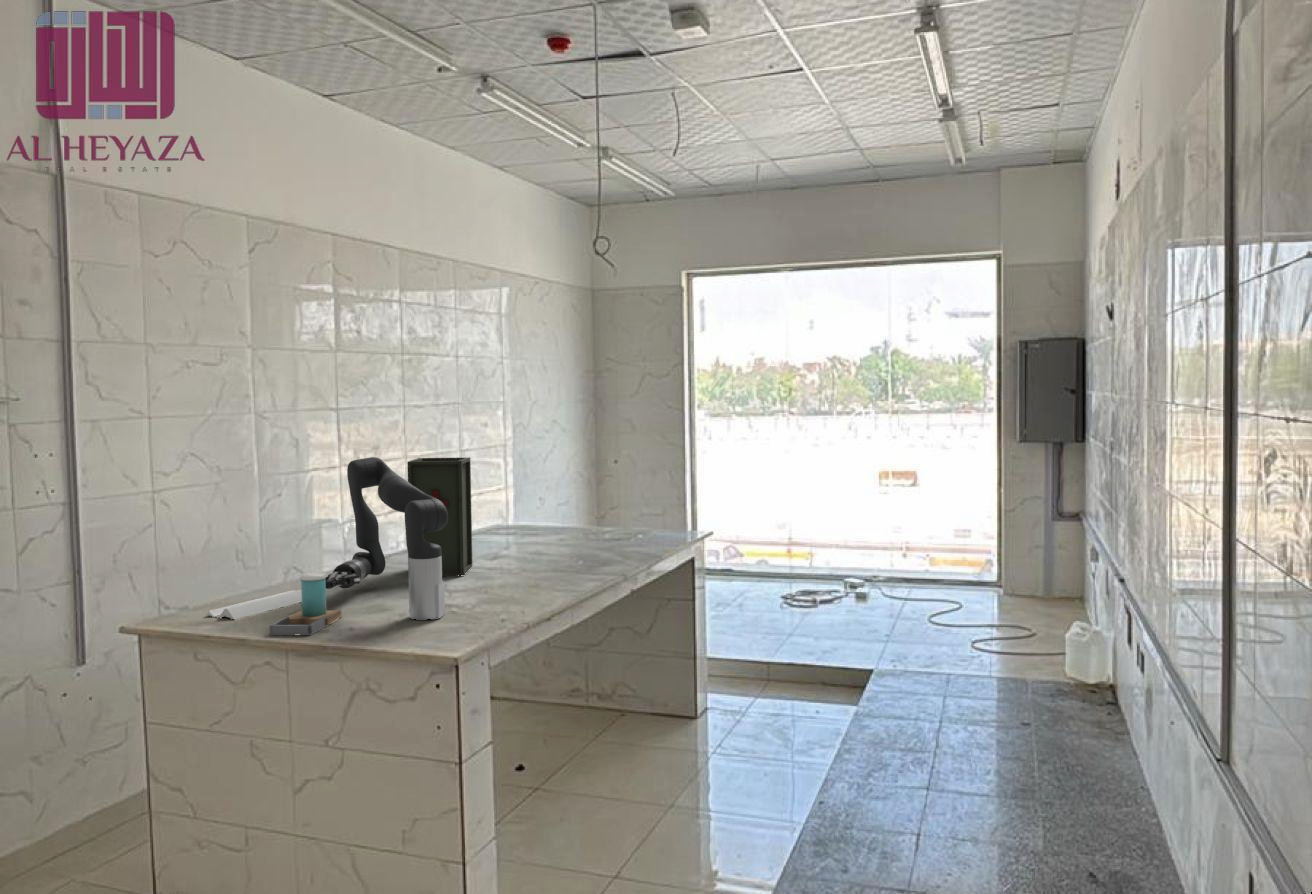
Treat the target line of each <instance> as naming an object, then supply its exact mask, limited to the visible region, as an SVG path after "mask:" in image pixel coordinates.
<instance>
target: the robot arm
mask: <svg viewBox="0 0 1312 894" xmlns="http://www.w3.org/2000/svg"><path fill="white" fill-rule="evenodd" d="M346 470H347V471H346V476H347V483H348V488H349V492H350V500H351V504H352V509H353V515H354V521H355V523H354V524H355V541H356V545H357V547H358V548H359V549H361V550H364V551H359V552H356V553H354V554H353V556H352V558H351V559H349V560H347V561H345V562H343V563H341V564H338V565H337V566H336V567H335V568H334V570H333V571H332V573H329V574H327V575H326V578H325V579H326V590H331V589H333V588H335V587H336V588H337V587H338V588H341V589H349V588H352V587H354V586H355V585H359V584H360V583H361V581H362V580H364V579H365V578H367V577H368V576H370V575H372V576H379V575H381V574H383V572H384V571H385V568H386V558H385V554H384V552H383V548H382V546H381V542H380V533H379V522H378V519H377V516H376V515H375V513H374V512H373V511H372V509H371V508H370V507H369V505H368V503H366V500H365V499H364V497H363V490H362V489H366V488H372V487H377V494H378V498H379V499H380V501H381V502H382V503H384V504H385V505H386V506H387V507H389V508H390V509H392V510H394V511H396V512H400V513H403V514H404V528H405V540H406V541H405V542H406V549H407V563H408V564H407V568H408V569H407V571H408V607H409V608H408V612H409V613H408V614H409V619H410V618H411V619H410V620H414V619H416V620H415V621H428V620H427V619H431V620H437V619H438V620H439V618H440V619H441V618H443V616H444V615H446V607H445V606H446V605H445V603H446V601H445V599H446V597H445V595H446V594H445V592H446V591H445V581H444V580H443V577H442V556H441V555H442V551H441V547H440V546H439V545H437V544H433V543H429V542H427V541H426V540H425V539H424V536H423V533H426V532H435V531H439V530H441V529H443V528H444V527H445V526H446V524H447V522H448V512H447V509H446V507H445V506H444V504H443V503H442V502H441V501H440V500H438V499H436V498H434V497H432V496H429V495H427V494H425V493H424V492H422V491H420V490H419V489H417V488H416V487H414V486H413V485H411V484H410V483H409V482H408V480H407V479H405V478H403V477H402V476H400V475H399V474H397V473H396V472H395V471H393V470H392V469H391V468H390V466H389V465H388V464H387V463H386V462H385V461H383V459H382V458H380V457H375V456H371V457H370V456H369V457H367V458H366V457H365V458H360V459H359V458H358V459H353V460H351V461H349V462H348V464H347V469H346ZM365 551H366V552H365Z"/></svg>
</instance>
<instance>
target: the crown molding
mask: <svg viewBox="0 0 1312 894" xmlns="http://www.w3.org/2000/svg"><path fill="white" fill-rule="evenodd" d="M298 602H302V595H301V589H298V590H295V589H292V590H288V591H284V592H280V593H276V594H272V595H269V596H264V597H260V598H256V599H252V600H247V601H243V602H239V603H236V604H232V605H227V606H223V607H219V608H215V609H210V610H208V612H207V613H206V615H205V616H206V617H211V616H217V615H220V614H221V615H220V616H219V617H226V618H229V619H231V620H232V619H236V618H240V617H244V616H249V615H253V614H256V613H261V612H265V611H268V610H272V609H276V608H280V607H283V606H287V605H291V604H294V603H298Z"/></svg>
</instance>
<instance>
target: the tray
mask: <svg viewBox="0 0 1312 894" xmlns="http://www.w3.org/2000/svg"><path fill="white" fill-rule="evenodd" d="M325 625H326V617H322V618H320V619H318V620H317V621H315V622H313V623H312V624H289V616H285V617H283V618H281V619H279V620H278V621H275V622H274V623H272V624H270V625H269V636H272V635H295V634H300V635H311V636H313V635H314V634H316V633H317V632H316V631H318V630H319V629H321V628H322V629H324V628H325V627H324V626H325ZM323 627H324V628H323ZM322 629H321V630H322ZM319 631H320V630H319ZM319 631H318V632H319ZM315 632H316V633H315ZM313 633H314V634H313ZM312 634H313V635H312Z"/></svg>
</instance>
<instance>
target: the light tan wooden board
mask: <svg viewBox="0 0 1312 894" xmlns="http://www.w3.org/2000/svg"><path fill="white" fill-rule="evenodd" d="M341 616H342V610H326V614H324V615H320V616H311V617H308V616H303V615H302V610H298V611H295V612H294V613H293V614H291V615H288V617H289V624H312V623H313V622H315V621H317V620H318V619H320V618H322V617H326V625H329V624H330V623H332V622H333V621H335V620H336V619H338V618H339V617H341ZM338 620H339V619H338ZM335 622H336V621H335ZM332 624H333V623H332ZM329 626H330V625H329Z"/></svg>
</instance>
